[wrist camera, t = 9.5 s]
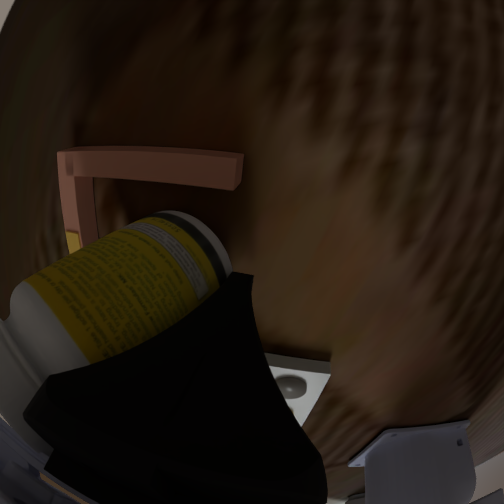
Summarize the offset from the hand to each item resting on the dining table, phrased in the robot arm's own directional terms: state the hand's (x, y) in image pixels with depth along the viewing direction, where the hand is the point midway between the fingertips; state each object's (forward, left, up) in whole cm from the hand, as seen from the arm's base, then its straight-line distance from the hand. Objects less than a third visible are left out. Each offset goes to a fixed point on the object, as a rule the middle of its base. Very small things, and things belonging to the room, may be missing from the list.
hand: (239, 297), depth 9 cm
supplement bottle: (+2, 0, -1) cm, 3 cm away
